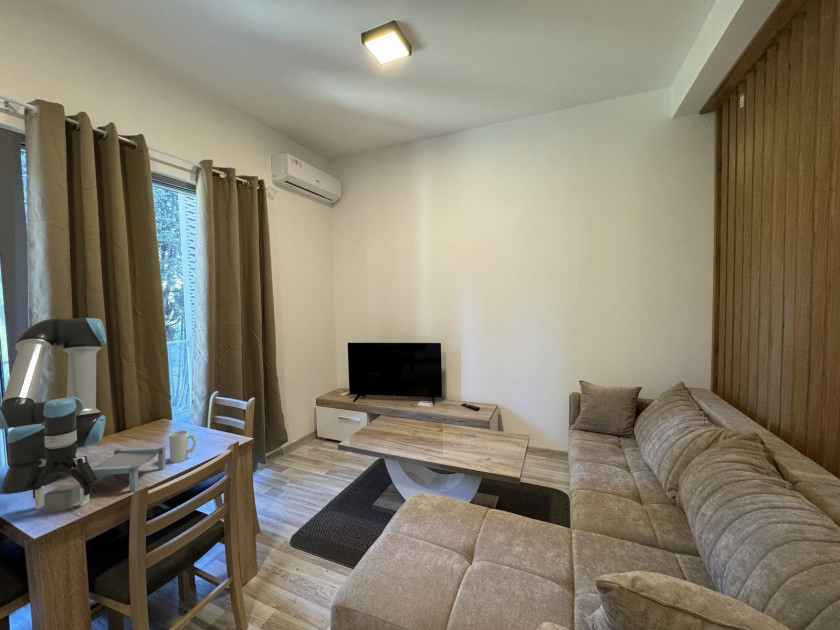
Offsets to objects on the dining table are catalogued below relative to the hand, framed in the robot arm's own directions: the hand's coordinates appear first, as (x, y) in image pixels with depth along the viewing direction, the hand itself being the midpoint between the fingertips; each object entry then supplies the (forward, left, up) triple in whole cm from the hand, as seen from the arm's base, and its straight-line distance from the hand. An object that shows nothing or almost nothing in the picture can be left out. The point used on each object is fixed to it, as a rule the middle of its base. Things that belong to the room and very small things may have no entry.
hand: (62, 505), depth 116 cm
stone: (0, 0, 0) cm, 0 cm away
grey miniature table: (+9, +16, 0) cm, 18 cm away
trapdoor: (+9, +16, +7) cm, 20 cm away
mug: (+21, +33, 0) cm, 39 cm away
